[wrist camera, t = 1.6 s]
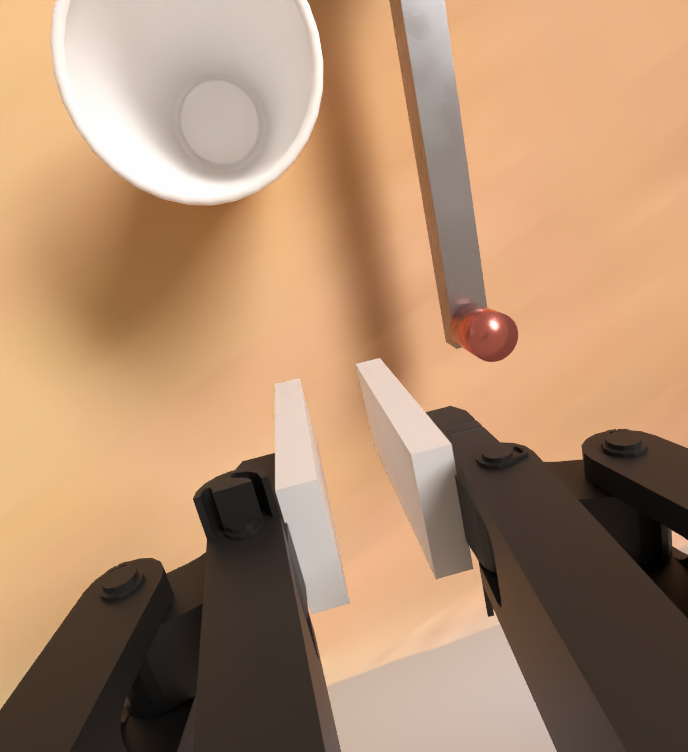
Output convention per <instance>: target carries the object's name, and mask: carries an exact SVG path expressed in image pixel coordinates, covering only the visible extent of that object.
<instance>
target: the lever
mask: <svg viewBox="0 0 688 752" xmlns="http://www.w3.org/2000/svg"><path fill="white" fill-rule="evenodd" d="M389 1H390V7H391V13H392V19H393V25H394V31H395V37H396V43H397V49H398V55H399V61H400V67H401V73H402V79H403V86H404V92H405V98H406V104H407V110H408V116H409V122H410V128H411V134H412V140H413V146H414V152H415V158H416V164H417V170H418V176H419V182H420V188H421V194H422V200H423V206H424V212H425V218H426V224H427V230H428V236H429V242H430V248H431V254H432V260H433V266H434V273H435V279H436V285H437V291H438V297H439V303H440V309H441V315H442V321H443V327H444V333H445V339H446V342H447V343H448V344H450V345H452V346H453V347H455V348H456V349H457V348H461V347H462V348H464V349H466V350H467V351H469V352H470V353H472V354H474V355H475V356H477V357H478V358H480V359H482V360H484V361H488V362H495V361H499V360H502V359H504V358H505V357H507V356H508V355H509V354H510V353H511V352H512V351H513V349H514V348H515V346H516V343H517V340H518V330H517V326H516V324H515V322H514V321H513V320H512V319H511V318H510V317H509V316H507V315H505V314H502V313H500V312H497V311H494V310H491V309H488V308H487V303H486V296H485V289H484V282H483V274H482V267H481V260H480V253H479V245H478V238H477V231H476V224H475V216H474V209H473V202H472V195H471V188H470V180H469V173H468V166H467V159H466V151H465V144H464V137H463V130H462V122H461V115H460V108H459V101H458V94H457V86H456V79H455V72H454V65H453V57H452V50H451V43H450V36H449V29H448V21H447V14H446V7H445V0H389Z"/></svg>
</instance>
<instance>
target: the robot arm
mask: <svg viewBox="0 0 688 752" xmlns="http://www.w3.org/2000/svg"><path fill="white" fill-rule="evenodd" d="M356 368H357V373H358V377H359V382H360V386H361V391H362V395H363V400H364V404H365V409H366V413H367V418H368V422H369V427H370V431H371V436H372V440H373V445H374V447H375V449H376V451H377V453H378V455H379V458H380V460H381V462H382V464H383V466H384V468H385V471H386V473H387V475H388V477H389V479H390V481H391V483H392V486H393V488H394V490H395V492H396V494H397V496H398V498H399V501H400V503H401V505H402V507H403V509H404V511H405V514H406V516H407V518H408V520H409V522H410V524H411V526H412V529H413V531H414V533H415V535H416V537H417V539H418V542H419V544H420V546H421V548H422V550H423V552H424V554H425V557H426V559H427V561H428V563H429V565H430V567H431V569H432V572H433V574H434V576H435V578H436V579H438V578H442V577H445V576H449V575H452V574H456V573H459V572H463V571H467V570H470V569H473V565H472V559H471V554H470V548H471V549H472V551H473V552H474V554H475V556H476V557H477V559H478V560H479V566H480V572H481V578H482V584H483V590H484V596H485V602H486V608H487V614H488V617H489V616H494V612H493V609H494V611H495V613H496V615H497V618H498V620H499V622H500V624H501V626H502V629H503V631H504V633H505V636H506V638H507V640H508V642H509V645H510V647H511V649H512V651H513V654H514V656H515V658H516V660H517V663H518V665H519V667H520V669H521V672H522V674H523V676H524V678H525V681H526V683H527V685H528V687H529V689H530V692H531V694H532V696H533V699H534V701H535V703H536V705H537V707H538V710H539V712H540V714H541V717H542V719H543V721H544V723H545V726H546V728H547V730H548V732H549V735H550V737H551V739H552V741H553V744H554V746H555V748H556V750H557V752H688V555H687V554H685V553H683V552H681V551H679V550H678V549H676V548H674V547H673V546H672V531H671V530H673V531H674V532H676V533H678V534H679V535H681V536H683V537H684V538H686V539H687V540H688V448H685V447H683V446H680V445H678V444H675V443H673V442H670V441H668V440H665V439H663V438H660V437H658V436H655V435H652V434H648V433H645V432H641V431H632V430H628V429H618V430H616V429H614V430H608V431H606V432H602V433H598V434H595V435H593V436H591V437H589V438H587V439H586V440H585V442H584V443H583V445H582V454H583V460H572V461H561V462H543V461H542V460H541V459H540V458H539V457H538V456H537V455H536V454H535V453H534V451H532V450H531V449H529V448H527V447H526V446H523V445H519V444H515V443H502V442H499V441H498V440H497V439H496V438H495V437H494V436H492V435H491V434H490V433H489V432H488V431H487V430H486V429H485V428H484V427H482V425H481V424H480V423H479V422H477V421H475V419H474V418H473V417H472V416H471V415H470V414H469V413H468V412H467V411H465V410H462V409H459V408H456V407H453V406H448V407H445V408H441V409H437V410H433V411H429V412H424V410H423V409H422V408H421V407H420V406H419V404H418V403H417V402H416V401H415V400H414V398H413V397H412V396H411V395H410V394H409V392H408V391H407V390H406V389H405V388H404V386H403V385H402V384H401V383H400V382H399V380H398V379H397V378H396V377H395V376H394V374H393V373H392V372H391V371H390V370H389V368H388V367H387V366H386V365H385V364H384V362H383V361H382V360H381V359H380V358H378V359H374V360H370V361H366V362H362V363H358V364H356ZM193 500H194V503H195V506H196V509H197V512H198V515H199V518H200V520H201V523H202V526H203V529H204V532H205V535H206V538H207V549H206V553H204V554H203V555H202V556H200V557H199V558H197V559H195V560H193V561H192V562H190V563H188V564H186V565H184V566H182V567H179V568H177V569H175V570H173V571H171V572H169V573H167V574H166V573H165V570H164V568H163V566H162V564H161V562H160V561H158V560H155V559H153V558H142V559H136V560H133V561H129V562H124V563H121V564H119V565H118V566H117V567H116V566H115V567H113V568H111V569H109V570H108V571H107V572H106V573H105V574H103V575H102V576H100V577H99V578H98V579H96V580H95V581H94V582H93V583H92V584H91V585H90V586H89V587H88V588H87V590H86V591H85V592H84V593H83V594H82V596H81V597H80V599H79V600H78V602H77V603H76V604H75V606H74V607H73V609H72V610H71V611H70V613H69V614H68V616H67V617H66V618H65V620H64V621H63V623H62V624H61V625H60V627H59V628H58V630H57V631H56V632H55V634H54V635H53V637H52V638H51V639H50V641H49V642H48V644H47V645H46V647H45V648H44V649H43V651H42V652H41V654H40V655H39V656H38V658H37V659H36V661H35V662H34V663H33V665H32V666H31V668H30V669H29V670H28V672H27V673H26V675H25V676H24V677H23V679H22V680H21V682H20V683H19V684H18V686H17V687H16V689H15V690H14V692H13V693H12V694H11V696H10V697H9V699H8V700H7V701H6V703H5V704H4V706H3V707H2V708H1V710H0V752H341V749H340V745H339V740H338V736H337V731H336V727H335V723H334V718H333V713H332V709H331V705H330V700H329V696H328V691H327V687H326V682H325V678H324V673H323V669H322V664H321V660H320V655H319V651H318V646H317V642H316V637H315V633H314V629H313V626H312V622H311V619H310V616H309V612H308V605H307V600H308V604H309V607H310V610H311V614H313V613H317V612H321V611H324V610H328V609H331V608H335V607H338V606H342V605H346V604H349V603H350V601H349V596H348V592H347V587H346V582H345V577H344V572H343V567H342V562H341V557H340V552H339V547H338V542H337V537H336V532H335V527H334V522H333V518H332V513H331V508H330V503H329V498H328V493H327V488H326V483H325V478H324V473H323V468H322V463H321V458H320V455H319V451H318V447H317V443H316V439H315V435H314V431H313V428H312V424H311V420H310V416H309V412H308V408H307V404H306V400H305V397H304V393H303V389H302V385H301V381H300V378H298V379H294V380H290V381H286V382H282V383H278V384H275V453H273V454H269V455H266V456H262V457H258V458H254V459H250V460H246V461H243V462H242V463H241V464H240V465H239V466H238V467H237V469H236V470H234V471H230V472H228V473H225V474H222V475H220V476H217V477H215V478H214V479H212V480H210V481H209V482H207V483H205V484H204V485H203V486H202V487H201V488H200V489H199V490H198V491H197V492H196V494H195V496H194V498H193ZM469 546H470V548H469Z"/></svg>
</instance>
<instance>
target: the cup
mask: <svg viewBox="0 0 688 752" xmlns="http://www.w3.org/2000/svg"><path fill="white" fill-rule="evenodd" d="M51 50H52V59H53V68H54V74H55V77H56V81H57V84H58V87H59V91H60V94H61V98H62V101H63V103H64V105H65V107H66V109H67V111H68V113H69V115H70V117H71V119H72V121H73V123H74V125H75V127H76V129H77V130H78V132H79V133H80V134H81V136H82V137H83V139H84V140H85V141H86V143H87V144H88V145H89V147H90V148H91V150H92V151H93V152H94V153H95V154H96V155H97V156H98V157H99V158H100V159H101V160H102V161H103V162H104V163H105V164H106V165H107V166H108V167H109V168H110V169H111V170H112V171H113V172H114V173H116V174H117V175H119V176H120V177H122V178H123V179H125V180H126V181H128V182H129V183H131V184H132V185H134V186H135V187H136V188H138V189H141V190H143V191H145V192H147V193H150V194H152V195H154V196H156V197H159V198H161V199H165V200H169V201H173V202H177V203H182V204H186V205H217V204H223V203H229V202H235V201H238V200H240V199H243V198H245V197H248V196H250V195H253V194H255V193H258V192H259V191H261V190H262V189H264V188H265V187H267V186H268V185H270V184H271V183H273V182H274V181H275V180H277V179H278V178H279V177H280V176H281V175H282V174H283V173H284V172H285V171H286V170H287V169H288V168H289V167H290V166H291V165H292V164H293V163H294V162H295V160H296V159H297V157H298V156H299V154H300V153H301V151H302V149H303V148H304V146H305V145H306V143H307V142H308V140H309V137H310V135H311V132H312V130H313V127H314V125H315V122H316V120H317V117H318V113H319V108H320V102H321V97H322V92H323V57H322V50H321V44H320V38H319V32H318V29H317V26H316V23H315V20H314V18H313V15H312V12H311V9H310V6H309V3H308V2H307V0H56V2H55V6H54V9H53V16H52V29H51Z"/></svg>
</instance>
